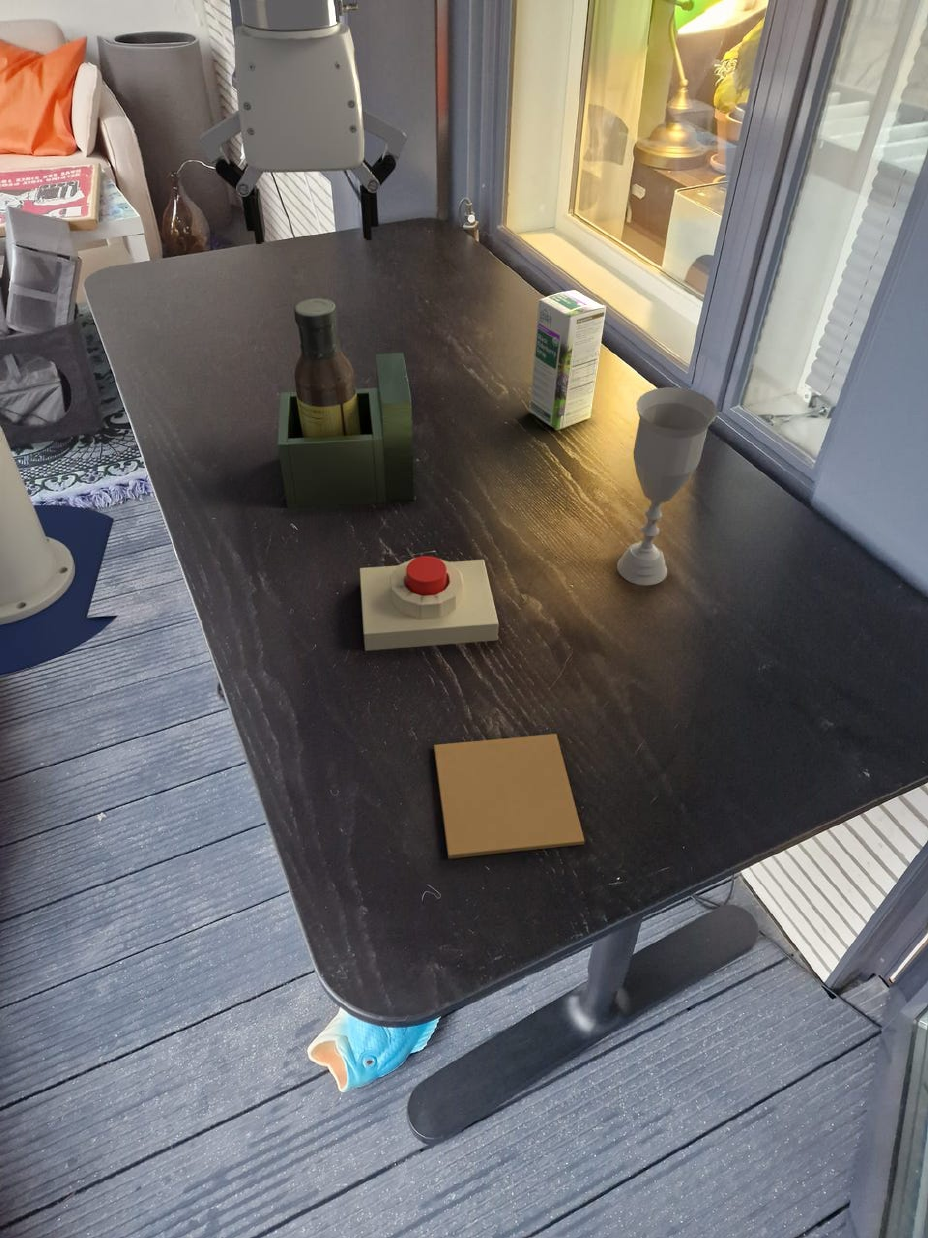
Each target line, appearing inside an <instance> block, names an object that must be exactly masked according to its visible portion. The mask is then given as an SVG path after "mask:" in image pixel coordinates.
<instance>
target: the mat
mask: <svg viewBox="0 0 928 1238" xmlns="http://www.w3.org/2000/svg"><path fill="white" fill-rule="evenodd" d="M560 746H561V745H560V743H559V739H558V734H557V733H550V734H540V735H529V736H517V737H507V738H505V737H504V738H496V739H486V740H485V739H484V740H474V741H462V742H452V743H441V744H440V743H439V744H433V751H434V760H435V767H436V774H437V775H436V776H437V781H438V790H439V797H440V798H439V799H440V806H441V813H442V820H443V821H442V822H443V828H444V836H445V843H446V851H447V859H458V858H460V859H461V858H469V857H478V856H487V855H496V854H504V853H506V854H507V853H515V852H525V851H535V850H545V849H554V848H555V849H556V848H563V847H572V846H581V845H584V844H585V837H584V834H583V829H582V827H581V822H580V819H579V815H578V810H577V807H576V804H575V800H574V795H573V791H572V789H571V785H570V780H569V776H568V772H567V770H566V766H565V761H564V758H563V754H562V751H561V747H560Z"/></svg>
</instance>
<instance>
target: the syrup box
mask: <svg viewBox="0 0 928 1238" xmlns="http://www.w3.org/2000/svg"><path fill="white" fill-rule="evenodd" d="M606 311H607V305H605V304H600V303H598V302H596V301H595V300H593V299H592V298H589V297H588V296H586V295H584V294H582V293H580V292H579V291H577V290H575V289H573V290H567V291H561V292H556V293H554V294H551V295H548V296H545V297H543V298H540V299H539V301H538V311H537V320H536V321H537V322H536V323H537V324H536V332H535V346H534V355H533V356H534V357H533V367H532V378H531V387H530V399H529V407H528V411H529V413H530V414H532V415H534V416H536V418H538V419H539V420H541V421H542V422H544V423H545V424H547V425H548V426H549V427H551V428H553V429H554V430H555V431H559V430H563V429H565V428H568V427H570V426H573V425H575V424H578V423H580V422H582V421H586V420H588V419H591V415H592V408H593V407H592V406H593V401H594V394H595V387H596V380H597V374H598V367H599V360H600V353H601V346H602V339H603V332H604V325H605V317H606Z"/></svg>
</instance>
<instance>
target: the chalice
mask: <svg viewBox="0 0 928 1238" xmlns="http://www.w3.org/2000/svg"><path fill="white" fill-rule="evenodd" d="M636 411H637V413H638V417H639V419H638V424H637V429H636V436H635V442H634V447H633V461H634V467H635V472H636V477H637V480H638V482H639V485H640V488H641V490H642V494H643V495H644V497H645V498H646V499H647V500H649V501H651V504H650V506H649V508H648V509H647V510H646V511H645V516H646V519H647V521H646V524H645V525H643V526H641V528H640V530H641V533H642V534H643V540H642V541H637V542H635V543H633V544H631V545H629V547H628V548H627V549H626V551H625V552H624V553H623V554H622V556H621V557H620V558H619V559H618V561H617V563H616V569H617V571H618V573H619V575H620V576H621V577H622V578H623V579H624V580H626V581H627V582H629V583H631V584H635V585H638V586H653V585H657V584H659V583H662V582H663V581H664V580H665V579H666V578H667V575H668V567H667V565H666V560H665V557H664V553H663V551H662V550H661V549H660V548H659V547H658V545H656V544H654V539H655V536H658V535H659V533H660V529H659V527H658V522H659V520H660V519H661V518H663V513H662V511H661V506H662V503H666V502H669V501H670V500H672V499H673V498H674V497H675V496H676V494H678V492H679V491H681V489H682V488H683V487H684V486H685V485H686V483H688V481H689V479H691V477H692V475H693V473H694V472H695V471H696V469H697V467H699V466H698V465H699V463H700V461H701V457H702V453H703V449H704V445H705V441H706V436H707V433H708V429H709V427H710V426H711V425H712V424H713V422H714V421H715V420H716V418H717V415H718V408H717V405H716V404H715V403H714V402H713V400H712V399H710V398H709V397H708V396H706V395H705V394H703V393H700V392H698V391H695V390H692V389H688V388H683V387H672V386H665V387H660V388H654V389H651V390H648V391H645V393H643V394H642V395H640V396H639V398H638V400H636Z"/></svg>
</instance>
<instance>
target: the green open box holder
mask: <svg viewBox="0 0 928 1238" xmlns="http://www.w3.org/2000/svg"><path fill="white" fill-rule="evenodd" d="M374 355H375V370H376V372H375V373H376V387H369V388H368V387H367V388H356V393H357V402H358V411H359V421H360V430H361V435H352V436H333V437H313V438H303V433H302V427H301V421H300V415H299V409H298V403H297V397H296V391H281V392H280V395H279V415H278V434H277V448H278V455H279V462H280V467H281V468H280V469H281V475H282V482H283V488H284V494H285V501H286V507H287V509H299V508H300V509H301V508H316V507H317V508H318V507H331V506H332V507H333V506H349V505H351V506H353V505H367V504H384V503H402V502H403V503H404V502H414V501H415V489H414V487H415V486H414V450H413V449H414V448H413V446H414V445H413V411H412V410H413V409H412V398H411V391H410V385H409V379H408V374H407V373H408V372H407V368H406V362H405V355H404V352H393V353H392V352H391V353H390V352H389V353H376V354H374Z"/></svg>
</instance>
